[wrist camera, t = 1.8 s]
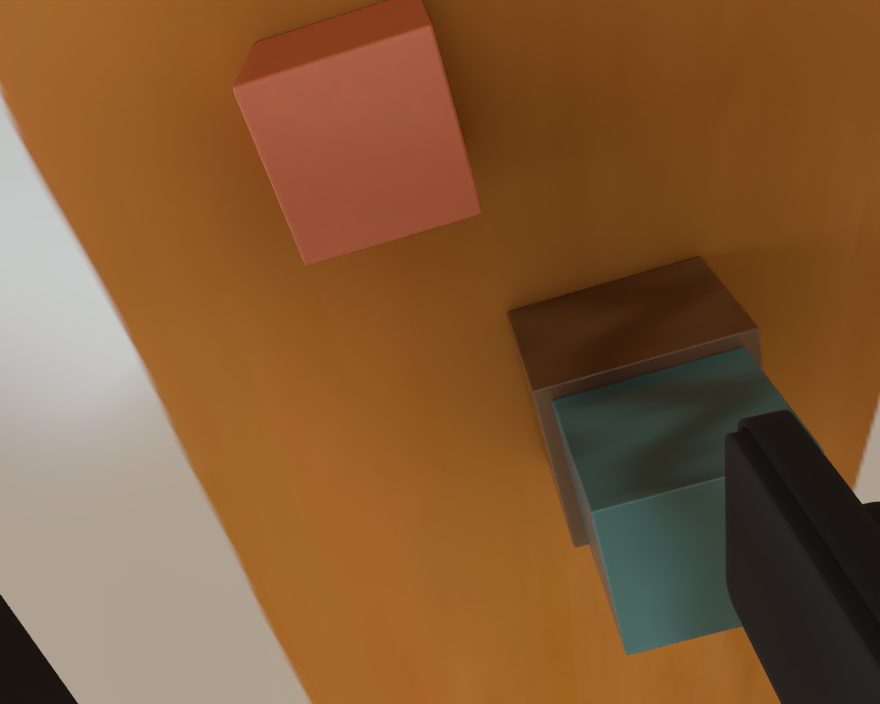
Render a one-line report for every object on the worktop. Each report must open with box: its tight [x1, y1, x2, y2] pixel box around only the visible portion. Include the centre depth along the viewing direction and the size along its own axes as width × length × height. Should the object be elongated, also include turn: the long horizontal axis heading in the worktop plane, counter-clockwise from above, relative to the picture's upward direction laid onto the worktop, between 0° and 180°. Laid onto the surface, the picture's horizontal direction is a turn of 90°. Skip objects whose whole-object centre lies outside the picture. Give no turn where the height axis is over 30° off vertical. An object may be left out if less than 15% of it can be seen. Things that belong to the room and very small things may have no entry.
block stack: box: [507, 257, 823, 655], centre depth 27 cm, size 7×7×10 cm
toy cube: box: [232, 0, 483, 266], centre depth 23 cm, size 5×5×5 cm
